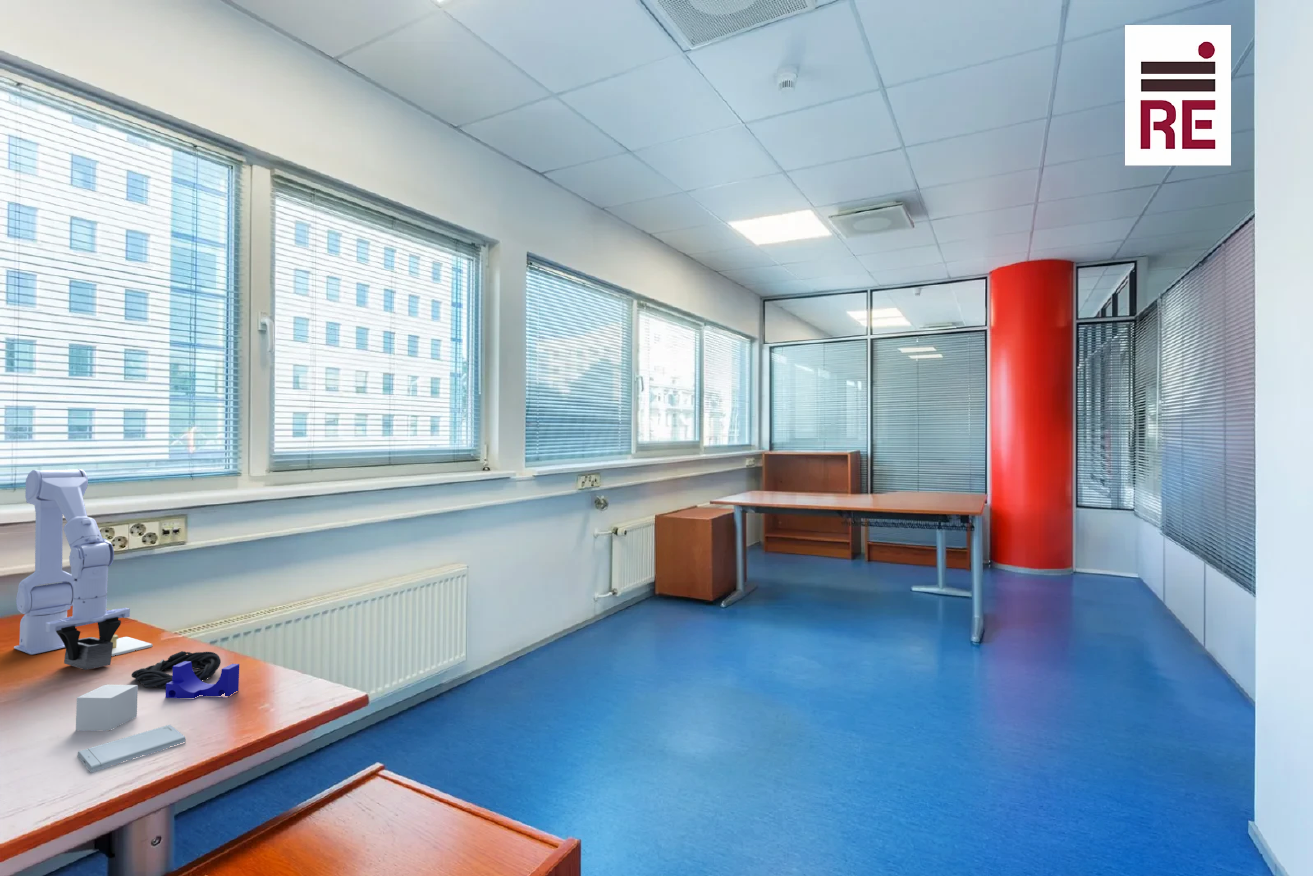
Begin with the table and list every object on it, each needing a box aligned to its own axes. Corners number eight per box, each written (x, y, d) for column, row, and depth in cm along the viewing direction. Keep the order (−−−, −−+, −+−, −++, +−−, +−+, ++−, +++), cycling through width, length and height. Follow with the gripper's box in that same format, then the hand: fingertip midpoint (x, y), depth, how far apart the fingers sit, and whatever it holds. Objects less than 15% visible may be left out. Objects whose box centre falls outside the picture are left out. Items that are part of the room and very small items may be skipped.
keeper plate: (66, 652, 149) (67, 637, 149) (126, 638, 160) (127, 624, 160) (92, 661, 144) (92, 645, 144) (152, 646, 155) (152, 632, 155)
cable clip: (165, 698, 125) (166, 669, 125) (183, 689, 130) (184, 661, 130) (222, 701, 125) (223, 672, 125) (238, 692, 129) (239, 664, 129)
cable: (231, 678, 137) (232, 658, 137) (153, 699, 125) (154, 677, 125) (198, 661, 146) (198, 642, 146) (123, 679, 135) (123, 659, 135)
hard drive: (169, 723, 112) (77, 749, 102) (186, 736, 107) (91, 765, 97) (169, 732, 112) (77, 760, 102) (185, 746, 107) (90, 776, 97)
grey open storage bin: (63, 663, 140) (66, 640, 140) (89, 658, 144) (91, 637, 145) (85, 669, 136) (88, 646, 137) (110, 665, 141) (113, 642, 141)
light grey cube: (109, 731, 111) (110, 698, 111) (75, 731, 111) (76, 697, 111) (136, 716, 117) (137, 684, 117) (104, 716, 117) (105, 684, 117)
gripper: (57, 605, 132) (54, 669, 132) (137, 591, 146) (135, 649, 145) (41, 601, 136) (39, 663, 135) (121, 588, 149) (119, 644, 149)
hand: (88, 656), depth 141 cm, fingers closed on grey open storage bin, 5 cm apart
